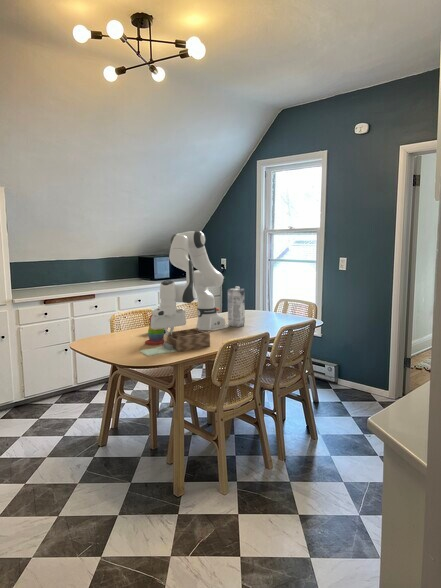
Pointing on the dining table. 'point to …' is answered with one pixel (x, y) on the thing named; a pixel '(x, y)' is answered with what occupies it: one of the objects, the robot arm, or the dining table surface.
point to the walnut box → (189, 339)
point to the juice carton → (236, 307)
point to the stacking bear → (155, 335)
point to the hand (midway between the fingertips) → (169, 335)
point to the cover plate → (159, 350)
